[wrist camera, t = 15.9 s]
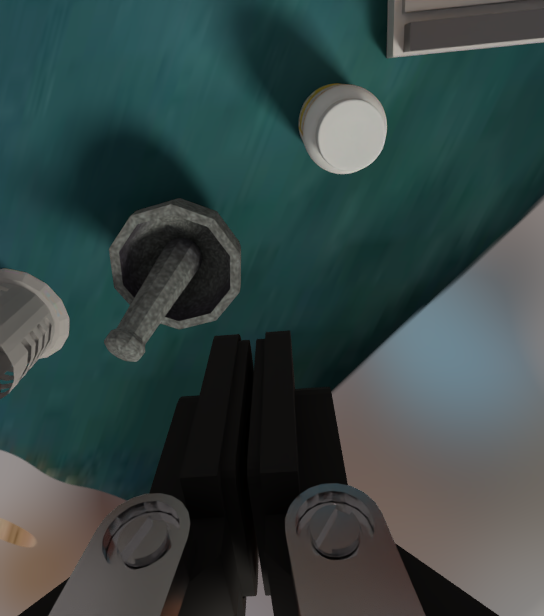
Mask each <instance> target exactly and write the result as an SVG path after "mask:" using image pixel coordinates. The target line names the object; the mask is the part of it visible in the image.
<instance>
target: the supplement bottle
mask: <svg viewBox="0 0 544 616" xmlns="http://www.w3.org/2000/svg"><path fill="white" fill-rule="evenodd" d="M299 132H300V136H301V138H302V141H303V143H304V145H305V147H306V150H307V152H308V154H309V155H310V157H311V158H312V160H313V161H314V162H315V163H316V164H317V165H318V166H320V167H321V168H323V169H324V170H326V171H329V172H332V173H336V174H349V173H353V172H356V171H359V170H361V169H363V168H365V167H367V166H368V165H369V164H371V163H372V162H373V161H374V160H375V159H376V158H377V157H378V155H379V154H380V152H381V151H382V148H383V146H384V143H385V138H386V133H387V120H386V115H385V112H384V109H383V107H382V105H381V103H380V102H379V100H378V99H377V98H376V97H375V96H374V95H373V94H372V93H371V92H369V91H368V90H366V89H364V88H362V87H359V86H355V85H348V84H338V83H335V84H328V85H325V86H322V87H320V88H318V89H317V90H315V91H314V92H313V93H312V94H311V95H310V96H309V97H308V98H307V99H306V101H305V102H304V104H303V106H302V108H301V111H300V115H299Z"/></svg>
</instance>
